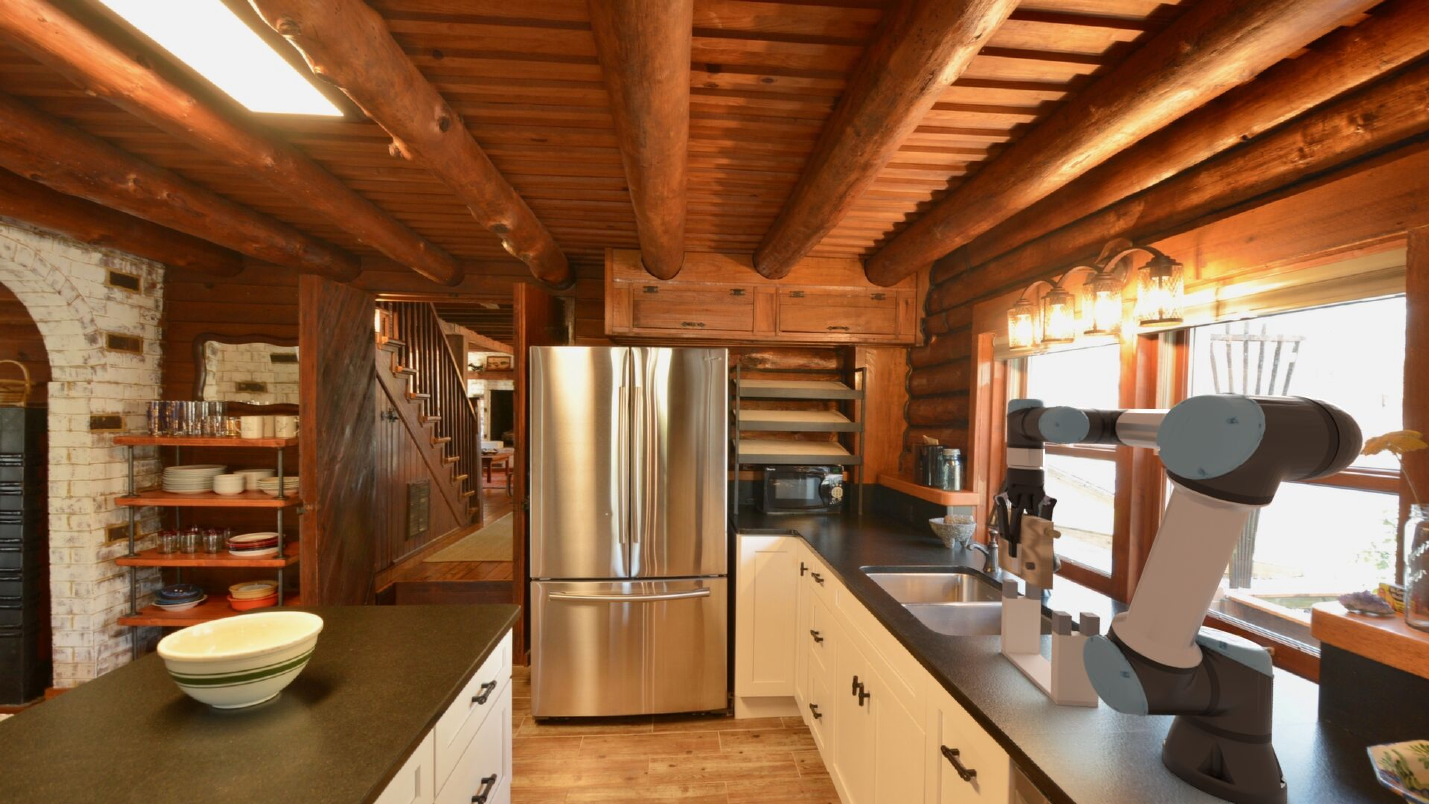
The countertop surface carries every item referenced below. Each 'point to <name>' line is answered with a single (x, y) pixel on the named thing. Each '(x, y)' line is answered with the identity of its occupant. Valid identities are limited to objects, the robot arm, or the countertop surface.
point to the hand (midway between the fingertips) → (1023, 572)
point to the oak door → (1032, 551)
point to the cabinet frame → (1067, 667)
